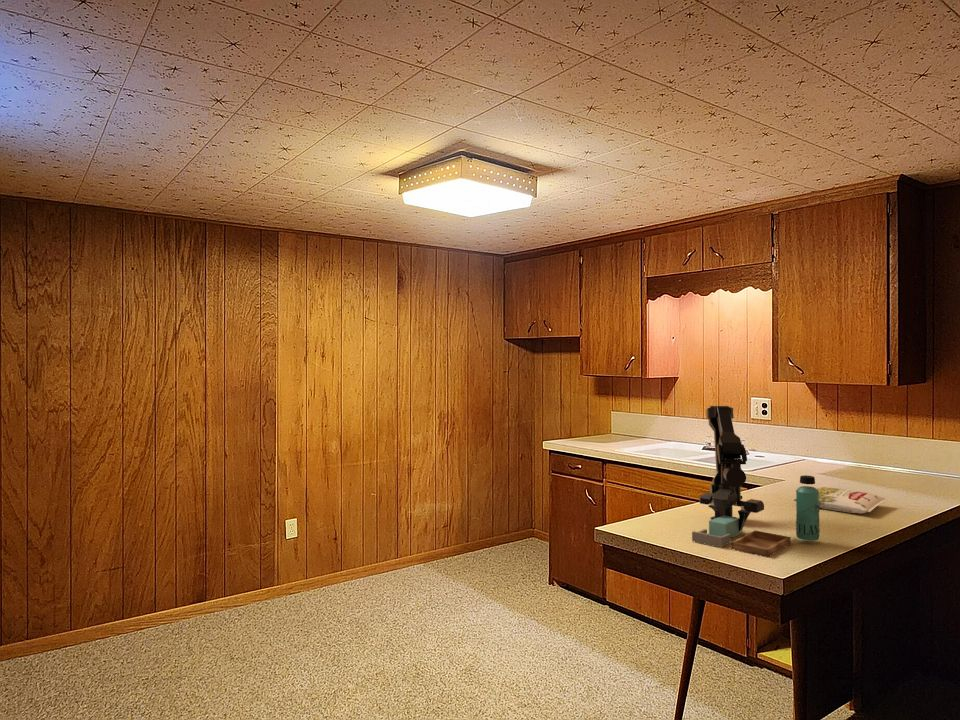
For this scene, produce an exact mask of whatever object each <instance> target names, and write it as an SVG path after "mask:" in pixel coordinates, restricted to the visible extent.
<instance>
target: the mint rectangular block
mask: <svg viewBox="0 0 960 720" xmlns="http://www.w3.org/2000/svg"><path fill="white" fill-rule="evenodd" d="M735 517H736V516H733V517H730V516H725V515H723V516H720V517H718V518H715V519H710V520H708V534H710V535H715V536H720V537H722V536H724V535H726V534H731V537H733V538H735V537H737V536H736V535H738V534H740V535H741V531H739V517H737V518H735ZM734 536H735V537H734ZM738 536H739V535H738Z"/></svg>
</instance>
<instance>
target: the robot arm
mask: <svg viewBox="0 0 960 720" xmlns="http://www.w3.org/2000/svg"><path fill="white" fill-rule="evenodd" d="M705 413H706V420H708V425H709V427H710V428H711V430H712V431H713V435H714V437H713V438H714V453H715V455H714V456H715V471H716V473H715V475H714V477H713V478H712V480H711V482H712V483H711V484H710V488H709V492H705V493H702V494H701V495H700V496H699V504H702V505H705V506H706V505H707V506H708V508H710V509H712V510H713V511H714V516H711V517H710V520H713V519H715V518H718V517H720V516H723V515H725V516H730V517H735V518H739V531H740V532H742V531H743V529H744V526H745V524H746V522H747V519H748V518H749V516H750V514H751V513H754V514H756V513H757V514H758V513H760V512H762V511H764V510H765V504H764V502H763V501H762V500H760V499H754V498H750V499H748V500H746V501H745V500H743V495H741V494H742V493H741V491H742V489H741V488H742V487H743V485H745V483H746V482H747V475H746V473H745V471H744V470H743V469H742V466H741V465H747V461H748V457H747V451H746V450H747V449H746V447H745V445H744V444H743V443H742V440H741V437H739V436H738V435H737V434H736V433H735V429H734V424H733V419H734V416H735V415H734V408H733V407H731V406H728V405H710V406H709V407H707V408H706V411H705ZM733 506H734V507H740V509H739V510H737V513H738V517H737V516H733V510H734V509H733Z"/></svg>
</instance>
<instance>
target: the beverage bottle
mask: <svg viewBox="0 0 960 720" xmlns="http://www.w3.org/2000/svg"><path fill="white" fill-rule="evenodd" d="M799 483H800V484H801V485H800V486H799V487H797V489H795V492H796V493H795V495H796V496H795V499H796V501H795V502H796V503H795V504H796V505H795V506H796V507H795V508H796V513H795V517H796V519H795V534H796V538H798V539H800V540H803V541H810V542H811V541H812V542H813V541H818V540H820V537H821V536H820V535H821V534H820V533H821V530H820V524H821V523H820V510H821V508H819V502H820V501H819V491H818V490H817V488H816V487H814V486H810V485H815V484H816V479H815V476H813V475H800V477H799ZM808 485H809V486H808Z"/></svg>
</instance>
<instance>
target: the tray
mask: <svg viewBox="0 0 960 720" xmlns="http://www.w3.org/2000/svg"><path fill="white" fill-rule="evenodd" d="M791 539H792V537H791V536H787V535H781V534H776V533H771V532H766V531H760V530H753V531H751V532H749V533H746V534H745V535H743V536H740V537H739V538H737V539H735V540H733V541H731V542H730V549H731V550H732V549H735V550H734V551H737V550H739V552H741V551H743V553H746V552H747V553H746V554H751V553H752V554H751V555H755V554H757V555H756V556H760V555H761V557H765V556H766V558H769V557H770V555H771V556H772V555H774V554H775V552H776V553H778V552H779V551H781V550H783V549H784V548H786V547H788V546H789V544H790V545H791V544H792V540H791ZM787 545H788V546H787ZM785 546H786V547H785ZM782 548H783V549H782ZM780 549H781V550H780ZM777 551H778V552H777ZM773 553H774V554H773ZM768 556H769V557H768Z"/></svg>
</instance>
